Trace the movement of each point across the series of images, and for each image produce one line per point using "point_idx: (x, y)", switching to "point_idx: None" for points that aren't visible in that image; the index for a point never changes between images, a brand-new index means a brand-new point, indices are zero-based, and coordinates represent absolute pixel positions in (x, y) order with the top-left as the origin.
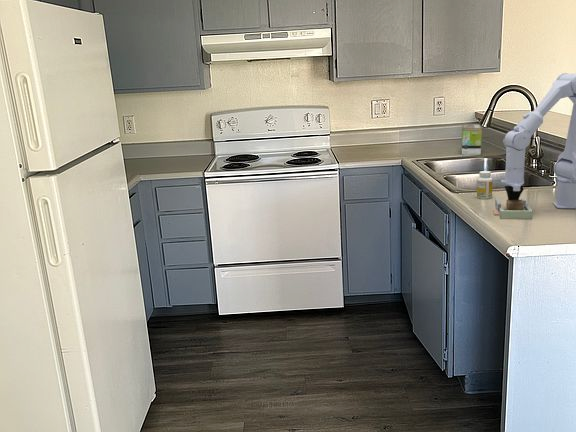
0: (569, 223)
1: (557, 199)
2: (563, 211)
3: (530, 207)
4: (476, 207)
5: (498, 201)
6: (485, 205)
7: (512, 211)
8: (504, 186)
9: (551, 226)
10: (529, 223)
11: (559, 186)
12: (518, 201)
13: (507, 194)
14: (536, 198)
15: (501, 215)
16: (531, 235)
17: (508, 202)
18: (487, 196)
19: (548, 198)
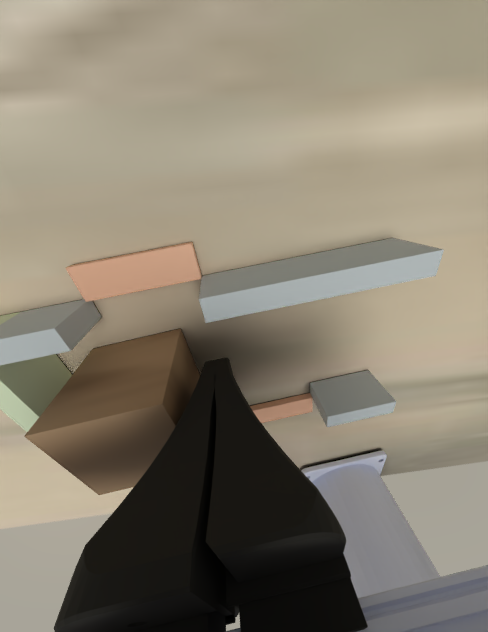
0: (110, 511)
1: (346, 494)
2: None
3: (298, 414)
4: (312, 42)
5: (304, 291)
6: (385, 154)
7: (9, 415)
8: (298, 540)
9: (26, 492)
10: (11, 441)
11: (377, 585)
12: (134, 470)
13: (204, 446)
14: (469, 401)
15: None
16: None
17: (49, 431)
18: None
19: (454, 429)
